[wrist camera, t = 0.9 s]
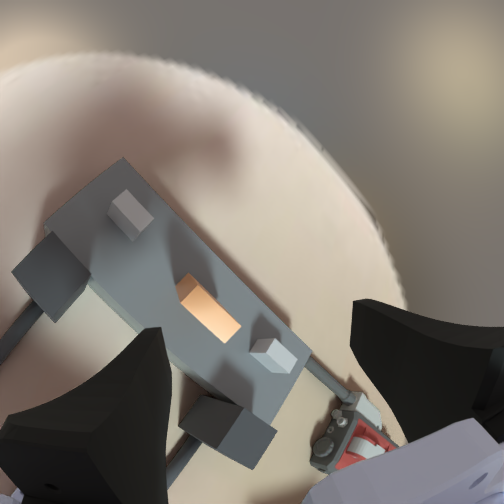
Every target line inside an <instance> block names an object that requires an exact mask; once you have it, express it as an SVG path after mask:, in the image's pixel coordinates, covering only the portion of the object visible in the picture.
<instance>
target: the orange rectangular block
mask: <svg viewBox="0 0 504 504" xmlns="http://www.w3.org/2000/svg"><path fill="white" fill-rule="evenodd" d="M175 288H176V291H177V294H178V297H179V301H180V303H181V304H182V305H183V306H184V307H185V308H186V309H187V310H188V311H189V312H190V313H191V314H193V315H194V316H195V317H196V318H197V319H198V320H199V321H200V322H201V323H202V324H203V325H204V326H206V327H207V328H208V329H209V330H210V331H211V332H212V333H213V334H214V335H216V336H217V337H218V338H219V339H220V340H221V341H222V342H223V343H226V342H227V341H228V340H229V339H230V338H231V337H232V336H233V335H234V334H235V333H236V332H237V331H238V330H239V329H240V328H241V325H240V324H239V323H238V322H237V321H236V320H235V319H234V318H233V317H232V315H231V314H230V313H229V312H228V311H227V310H226V309H225V308H224V307H223V306H222V305H221V304H220V303H219V302H218V301H217V300H216V299H215V298H214V297H213V296H212V295H211V294H210V293H209V292H208V291H207V290H206V289H205V288H204V287H203V286H202V285H201V284H200V283H199V282H198V281H197V280H196V279H195V278H194V277H193V276H192V275H191V274H190V273H188V274H187V275H186V276H185V277H184V278H183V279H182V280H181V281H180V282H179V283H178V284H177V285H176V286H175Z"/></svg>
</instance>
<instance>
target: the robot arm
mask: <svg viewBox="0 0 504 504" xmlns="http://www.w3.org/2000/svg"><path fill="white" fill-rule="evenodd" d="M350 347H351V349H352V351H353V354H354V356H355V358H356V359H357V361H358V363H359V365H360V366H361V368H362V369H363V371H364V372H365V373H366V375H367V376H368V378H369V379H370V380H371V382H372V383H373V384H374V386H375V387H376V388H377V390H378V391H379V392H380V394H381V395H382V397H383V398H384V399H385V401H386V402H387V404H388V405H389V407H390V408H391V410H392V412H393V413H394V415H395V417H396V419H397V421H398V423H399V425H400V426H401V428H402V431H403V433H404V435H405V437H406V439H407V441H408V443H409V444H406V445H404V446H401V447H399V448H396V449H393V450H391V451H388V452H385V453H383V454H380V455H377V456H374V457H371V458H368V459H365V460H362V461H359V462H356V463H354V464H352V465H349V466H347V467H345V468H343V469H340V470H338V471H335V472H333V473H331V474H330V475H328V476H327V477H325V478H324V479H323V480H321V481H320V482H318V483H317V484H315V485H314V486H312V488H311V489H310V490H309V492H308V493H307V495H306V496H305V498H304V499H303V501H302V503H301V504H504V327H478V326H468V325H460V324H454V323H449V322H444V321H439V320H435V319H431V318H428V317H424V316H420V315H418V314H414V313H411V312H408V311H405V310H402V309H400V308H397V307H394V306H391V305H388V304H385V303H382V302H379V301H376V300H372V299H362V300H356V301H353V310H352V324H351V336H350ZM171 397H172V372H171V367H170V363H169V359H168V355H167V351H166V346H165V342H164V337H163V333H162V328H161V327H152V328H145V329H143V330H142V331H141V332H140V333H139V334H138V335H137V336H136V337H135V339H134V340H133V341H132V342H131V343H130V344H129V345H128V346H127V347H126V348H125V349H124V350H123V351H122V352H121V353H120V354H119V355H118V356H117V357H116V358H114V359H113V360H112V361H111V362H110V363H109V364H108V365H107V366H106V367H104V368H103V369H102V370H101V371H100V372H98V373H97V374H96V375H94V376H93V377H92V378H90V379H89V380H87V381H86V382H85V383H83V384H81V385H80V386H78V387H76V388H75V389H73V390H71V391H69V392H68V393H66V394H64V395H62V396H60V397H58V398H56V399H54V400H52V401H50V402H47V403H45V404H42V405H40V406H37V407H35V408H32V409H28V410H25V411H22V412H18V413H15V414H11V415H8V417H7V419H6V421H5V422H4V424H3V426H2V428H1V430H0V467H1V468H2V470H3V471H4V472H5V473H6V475H7V476H8V477H9V478H10V479H11V480H12V482H13V483H14V484H15V485H16V486H17V488H16V490H15V491H14V492H13V494H12V495H11V497H10V496H7V495H4V494H0V504H168V494H167V479H166V438H167V430H168V422H169V414H170V405H171Z"/></svg>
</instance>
